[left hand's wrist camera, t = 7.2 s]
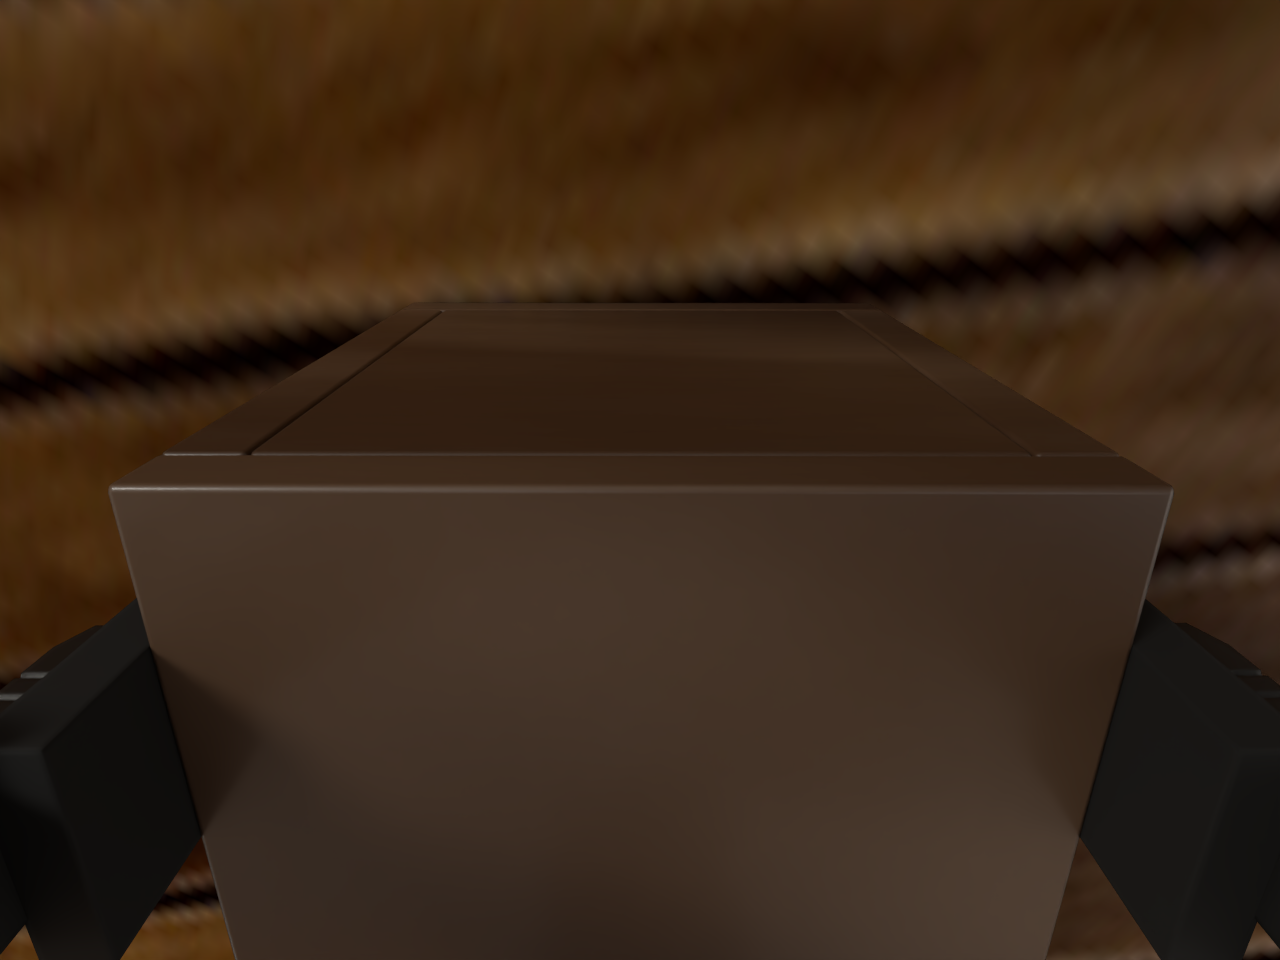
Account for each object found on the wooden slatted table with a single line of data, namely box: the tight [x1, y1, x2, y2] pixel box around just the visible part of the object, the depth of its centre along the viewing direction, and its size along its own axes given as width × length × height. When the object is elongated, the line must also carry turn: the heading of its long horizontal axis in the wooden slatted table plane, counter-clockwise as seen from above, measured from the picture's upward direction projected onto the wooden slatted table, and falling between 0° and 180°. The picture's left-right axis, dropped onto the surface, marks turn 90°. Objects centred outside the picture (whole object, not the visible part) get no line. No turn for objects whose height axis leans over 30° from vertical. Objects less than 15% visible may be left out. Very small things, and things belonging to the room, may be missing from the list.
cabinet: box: [108, 303, 1174, 960], centre depth 16 cm, size 16×11×11 cm, turn 0°
